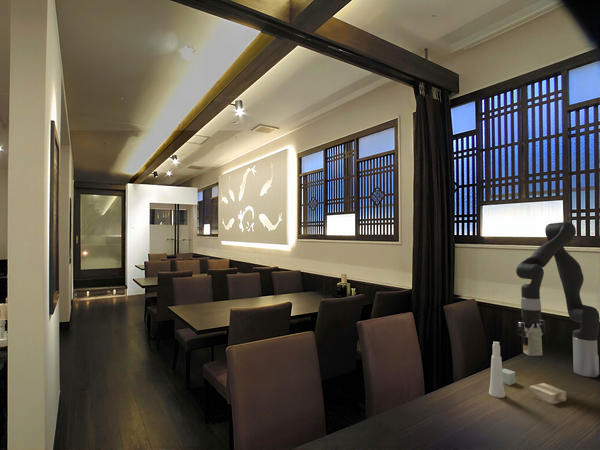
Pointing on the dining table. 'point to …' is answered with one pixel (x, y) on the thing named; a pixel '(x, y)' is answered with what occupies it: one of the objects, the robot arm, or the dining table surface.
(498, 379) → the cosmetic bottle
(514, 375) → the greygreen block
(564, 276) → the robot arm
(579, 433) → the dining table surface
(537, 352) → the skincare box
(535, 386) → the maple block
